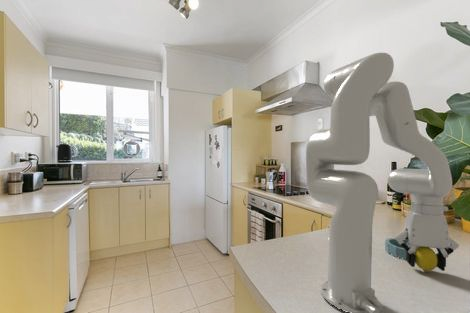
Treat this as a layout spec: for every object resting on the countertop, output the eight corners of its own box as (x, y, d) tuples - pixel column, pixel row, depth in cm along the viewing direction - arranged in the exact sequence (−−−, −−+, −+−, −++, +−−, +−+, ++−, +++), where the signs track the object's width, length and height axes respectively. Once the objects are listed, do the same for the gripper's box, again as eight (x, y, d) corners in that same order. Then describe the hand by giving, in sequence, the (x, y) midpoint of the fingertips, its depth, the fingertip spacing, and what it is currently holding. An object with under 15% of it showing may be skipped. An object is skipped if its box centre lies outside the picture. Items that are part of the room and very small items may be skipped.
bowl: (436, 259, 77) (436, 249, 77) (409, 263, 74) (409, 253, 74) (402, 245, 89) (403, 237, 89) (378, 248, 86) (378, 239, 86)
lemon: (413, 265, 73) (414, 240, 73) (436, 270, 70) (437, 245, 70) (413, 271, 69) (414, 245, 69) (437, 278, 65) (438, 250, 65)
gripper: (453, 208, 70) (451, 265, 70) (389, 204, 75) (388, 257, 75) (470, 214, 63) (469, 277, 63) (398, 209, 68) (397, 268, 68)
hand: (425, 266), depth 69 cm, fingers open, 6 cm apart
